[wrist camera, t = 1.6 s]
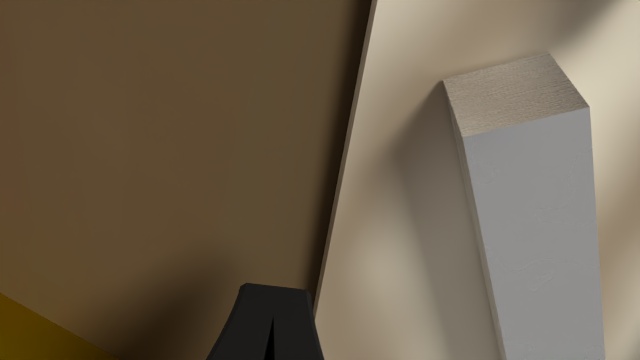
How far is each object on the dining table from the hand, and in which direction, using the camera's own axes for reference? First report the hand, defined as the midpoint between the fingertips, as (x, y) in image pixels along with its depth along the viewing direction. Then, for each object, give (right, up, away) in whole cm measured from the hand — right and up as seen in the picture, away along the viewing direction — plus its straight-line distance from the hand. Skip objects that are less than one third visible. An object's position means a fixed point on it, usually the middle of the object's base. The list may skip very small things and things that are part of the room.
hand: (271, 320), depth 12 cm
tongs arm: (+7, 0, +6) cm, 9 cm away
